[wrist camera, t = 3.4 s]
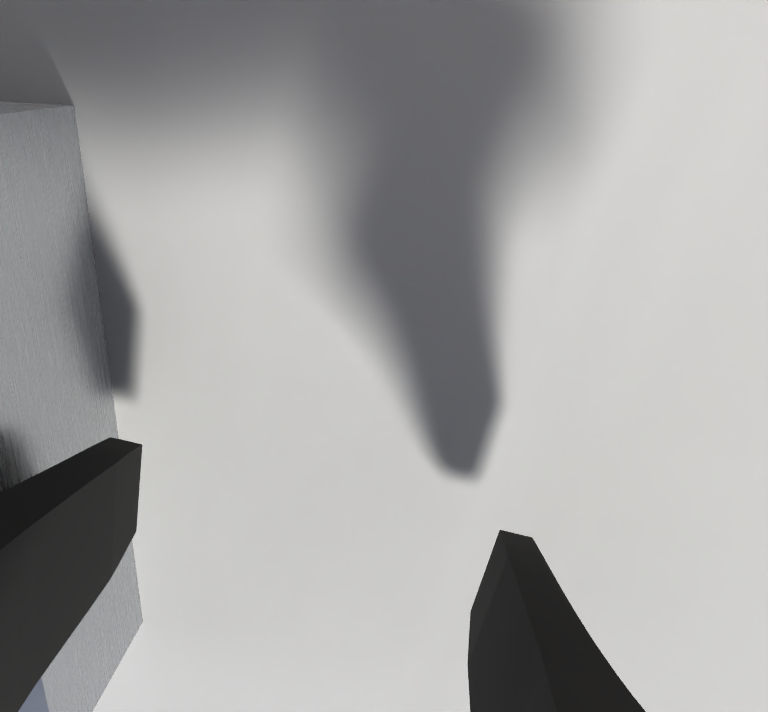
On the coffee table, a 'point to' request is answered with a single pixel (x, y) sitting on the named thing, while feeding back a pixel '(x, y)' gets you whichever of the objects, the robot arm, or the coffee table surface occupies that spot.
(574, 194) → the coffee table surface
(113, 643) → the grey metal block
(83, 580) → the robot arm
